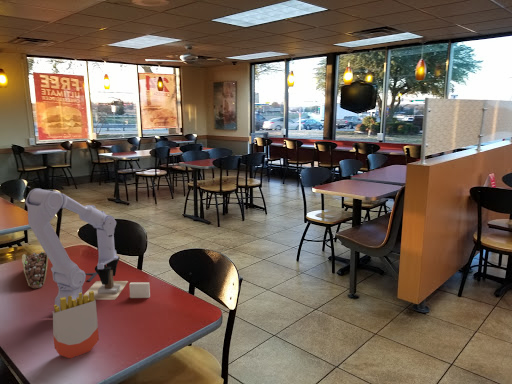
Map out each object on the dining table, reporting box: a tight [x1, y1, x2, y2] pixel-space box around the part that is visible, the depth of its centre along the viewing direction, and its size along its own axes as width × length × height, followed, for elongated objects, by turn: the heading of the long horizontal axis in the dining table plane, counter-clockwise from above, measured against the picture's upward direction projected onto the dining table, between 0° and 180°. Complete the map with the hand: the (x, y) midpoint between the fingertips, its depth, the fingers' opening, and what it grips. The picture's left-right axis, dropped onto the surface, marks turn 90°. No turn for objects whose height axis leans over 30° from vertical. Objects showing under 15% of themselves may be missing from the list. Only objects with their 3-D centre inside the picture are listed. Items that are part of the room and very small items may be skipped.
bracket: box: [85, 271, 98, 282], centre depth 166 cm, size 14×15×3 cm
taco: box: [21, 251, 49, 289], centre depth 164 cm, size 10×27×10 cm, turn 27°
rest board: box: [83, 280, 129, 301], centre depth 152 cm, size 16×13×1 cm
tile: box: [128, 281, 151, 299], centre depth 146 cm, size 2×7×6 cm, turn 91°
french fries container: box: [52, 291, 100, 359], centre depth 112 cm, size 5×11×18 cm, turn 132°
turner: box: [98, 270, 121, 294], centre depth 150 cm, size 5×7×8 cm
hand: (108, 279), depth 150 cm, fingers open, 7 cm apart
